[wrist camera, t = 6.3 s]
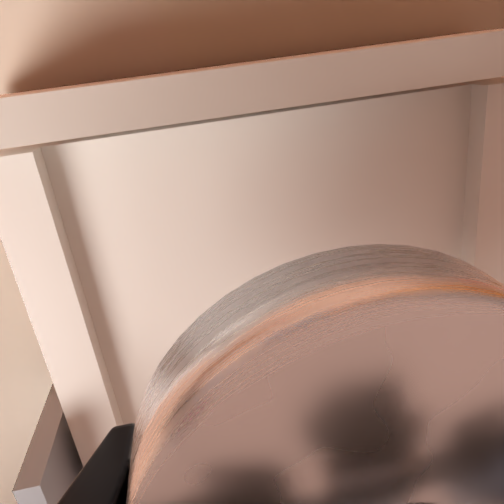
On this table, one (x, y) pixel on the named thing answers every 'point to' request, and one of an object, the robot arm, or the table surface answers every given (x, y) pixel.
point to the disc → (333, 388)
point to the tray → (235, 193)
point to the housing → (48, 458)
